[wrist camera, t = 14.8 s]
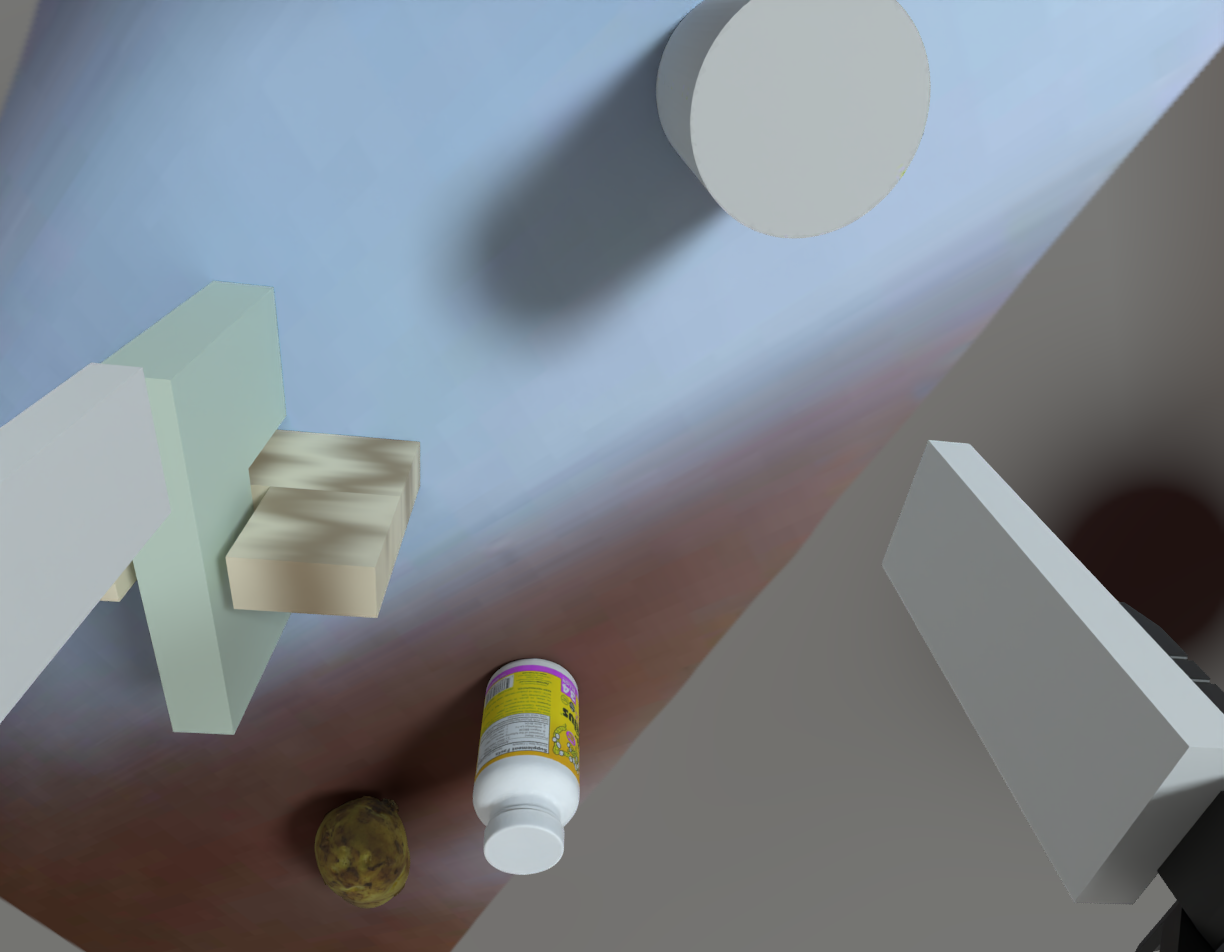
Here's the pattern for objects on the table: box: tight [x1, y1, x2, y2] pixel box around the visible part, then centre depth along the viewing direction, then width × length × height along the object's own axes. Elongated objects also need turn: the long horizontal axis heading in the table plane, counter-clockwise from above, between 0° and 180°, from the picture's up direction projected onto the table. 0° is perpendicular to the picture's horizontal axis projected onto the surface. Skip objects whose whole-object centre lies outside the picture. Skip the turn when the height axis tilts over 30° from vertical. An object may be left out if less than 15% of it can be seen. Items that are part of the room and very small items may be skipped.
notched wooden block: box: [100, 430, 420, 618], centre depth 40 cm, size 18×3×12 cm, turn 83°
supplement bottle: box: [473, 658, 579, 875], centre depth 50 cm, size 7×7×13 cm
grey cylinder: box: [656, 0, 930, 238], centre depth 31 cm, size 8×8×12 cm
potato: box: [315, 796, 410, 908], centre depth 59 cm, size 8×13×8 cm, turn 150°
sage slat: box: [100, 281, 291, 735], centre depth 40 cm, size 20×3×12 cm, turn 173°
